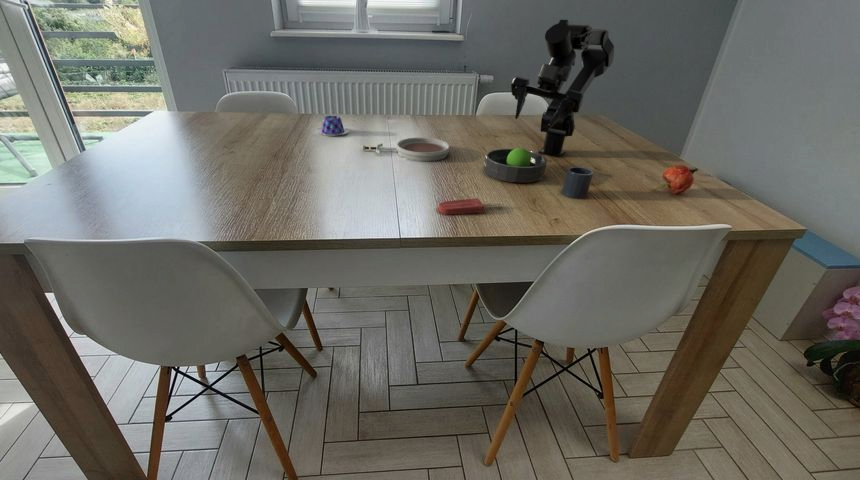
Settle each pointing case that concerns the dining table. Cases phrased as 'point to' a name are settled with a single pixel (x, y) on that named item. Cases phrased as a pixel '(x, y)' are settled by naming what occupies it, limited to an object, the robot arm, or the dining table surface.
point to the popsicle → (463, 206)
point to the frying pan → (418, 149)
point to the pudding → (332, 126)
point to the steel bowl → (513, 167)
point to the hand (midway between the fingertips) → (532, 123)
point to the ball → (519, 158)
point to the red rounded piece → (678, 178)
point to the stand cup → (577, 182)
